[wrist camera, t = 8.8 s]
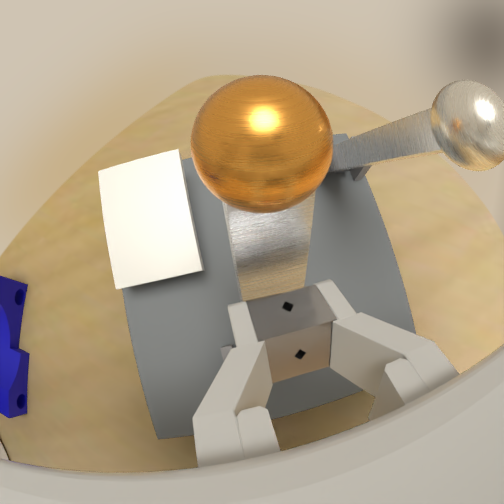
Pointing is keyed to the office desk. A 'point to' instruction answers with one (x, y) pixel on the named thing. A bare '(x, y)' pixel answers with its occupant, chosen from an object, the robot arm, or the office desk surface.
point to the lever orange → (264, 175)
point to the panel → (226, 292)
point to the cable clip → (12, 349)
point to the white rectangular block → (149, 220)
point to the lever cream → (435, 132)
